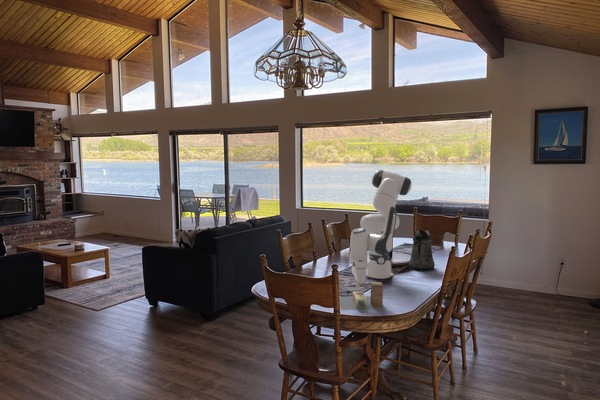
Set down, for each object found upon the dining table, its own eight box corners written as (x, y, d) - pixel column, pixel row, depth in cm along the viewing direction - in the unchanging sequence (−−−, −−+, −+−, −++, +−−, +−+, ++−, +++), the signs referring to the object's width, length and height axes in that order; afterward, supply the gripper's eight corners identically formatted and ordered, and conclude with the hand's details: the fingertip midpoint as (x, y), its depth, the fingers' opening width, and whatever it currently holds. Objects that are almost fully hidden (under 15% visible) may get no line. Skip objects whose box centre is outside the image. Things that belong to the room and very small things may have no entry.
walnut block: (370, 303, 221) (371, 282, 220) (380, 303, 222) (380, 282, 220) (372, 306, 216) (373, 285, 215) (382, 306, 217) (383, 285, 215)
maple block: (352, 291, 224) (356, 298, 213) (362, 291, 224) (366, 298, 213) (352, 300, 225) (356, 308, 214) (362, 300, 225) (366, 308, 214)
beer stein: (432, 265, 295) (434, 229, 292) (436, 273, 276) (438, 234, 273) (407, 264, 298) (409, 228, 295) (409, 272, 279) (411, 233, 276)
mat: (336, 297, 231) (336, 296, 231) (377, 297, 232) (377, 296, 232) (341, 310, 212) (341, 309, 212) (386, 310, 213) (386, 309, 213)
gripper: (349, 255, 232) (348, 280, 234) (355, 265, 212) (355, 293, 214) (360, 255, 233) (360, 280, 234) (368, 265, 212) (367, 292, 214)
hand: (357, 286), depth 224 cm, fingers closed
